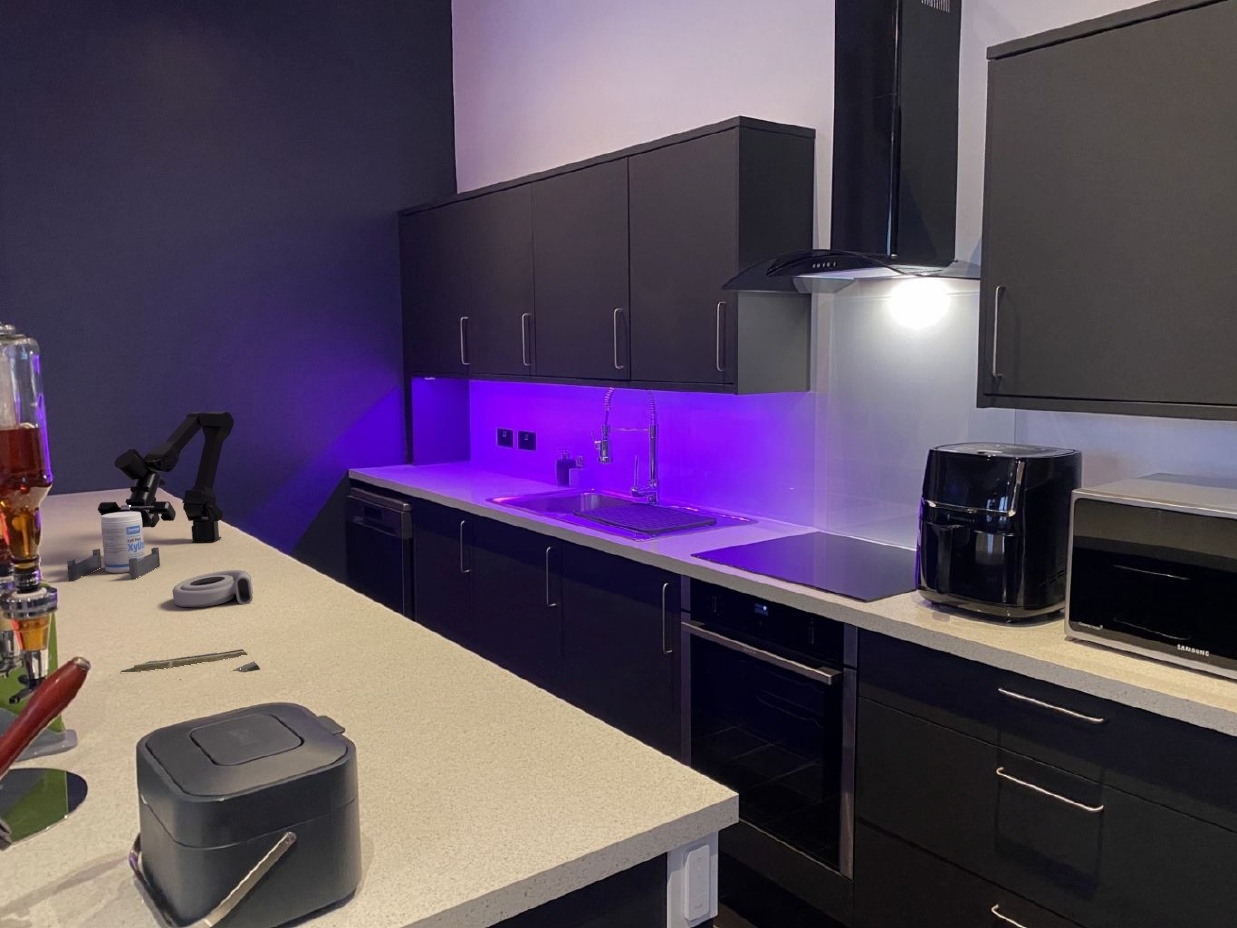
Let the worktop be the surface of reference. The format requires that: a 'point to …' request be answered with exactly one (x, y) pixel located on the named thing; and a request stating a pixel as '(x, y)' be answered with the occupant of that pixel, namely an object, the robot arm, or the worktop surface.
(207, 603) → the turbocharger housing
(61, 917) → the worktop surface
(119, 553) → the supplement tub
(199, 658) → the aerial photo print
